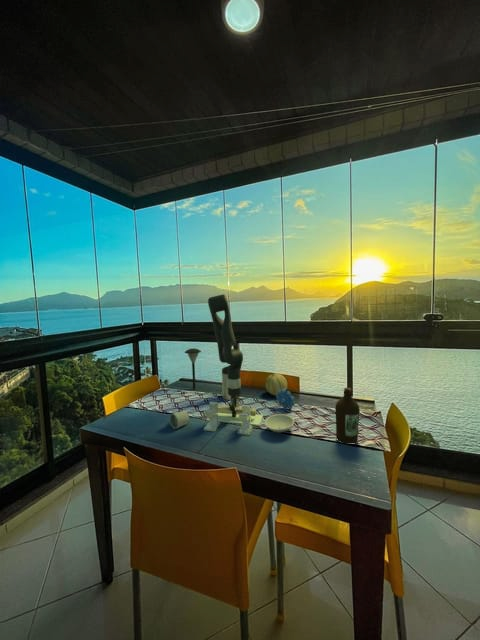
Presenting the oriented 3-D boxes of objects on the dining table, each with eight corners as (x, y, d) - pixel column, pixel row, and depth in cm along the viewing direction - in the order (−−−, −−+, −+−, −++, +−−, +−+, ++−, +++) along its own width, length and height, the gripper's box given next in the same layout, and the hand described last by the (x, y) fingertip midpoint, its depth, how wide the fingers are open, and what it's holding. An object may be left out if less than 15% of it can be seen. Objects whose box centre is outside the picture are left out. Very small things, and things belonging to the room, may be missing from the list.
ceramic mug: (190, 424, 152) (189, 411, 151) (178, 430, 145) (177, 416, 145) (178, 419, 158) (177, 406, 158) (166, 425, 152) (165, 411, 152)
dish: (285, 442, 132) (285, 432, 131) (258, 434, 140) (258, 425, 139) (299, 427, 147) (299, 417, 146) (274, 420, 154) (273, 412, 154)
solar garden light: (183, 392, 202) (181, 351, 199) (189, 386, 214) (187, 347, 211) (199, 392, 200) (198, 351, 197) (204, 387, 212) (203, 347, 209)
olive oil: (330, 435, 137) (331, 386, 135) (349, 433, 139) (350, 384, 137) (343, 447, 127) (344, 393, 124) (363, 444, 129) (365, 391, 127)
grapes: (273, 409, 169) (273, 390, 168) (277, 405, 175) (277, 386, 174) (292, 413, 163) (292, 393, 162) (295, 408, 169) (295, 389, 168)
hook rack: (209, 422, 153) (208, 401, 152) (252, 427, 147) (252, 405, 146) (203, 430, 145) (202, 408, 144) (249, 435, 139) (248, 412, 138)
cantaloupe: (291, 394, 194) (291, 372, 192) (279, 400, 183) (278, 377, 181) (273, 389, 204) (273, 369, 202) (261, 395, 193) (260, 373, 191)
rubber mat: (213, 411, 168) (213, 410, 168) (263, 416, 160) (263, 415, 160) (206, 420, 156) (206, 419, 156) (259, 425, 149) (259, 424, 149)
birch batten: (215, 410, 163) (215, 405, 162) (256, 413, 157) (256, 408, 156) (213, 412, 160) (213, 407, 159) (255, 416, 154) (255, 410, 153)
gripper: (231, 381, 164) (232, 409, 166) (223, 389, 151) (224, 420, 152) (243, 382, 162) (244, 411, 164) (237, 390, 149) (238, 421, 151)
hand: (234, 415), depth 158 cm, fingers closed on birch batten, 3 cm apart
